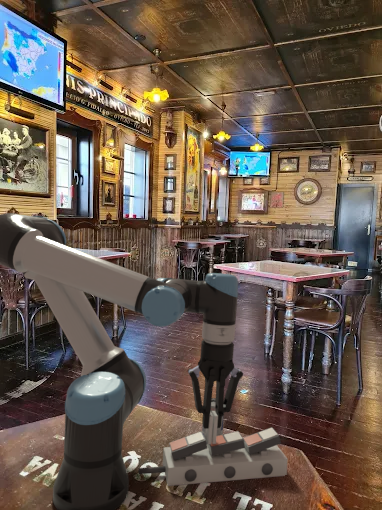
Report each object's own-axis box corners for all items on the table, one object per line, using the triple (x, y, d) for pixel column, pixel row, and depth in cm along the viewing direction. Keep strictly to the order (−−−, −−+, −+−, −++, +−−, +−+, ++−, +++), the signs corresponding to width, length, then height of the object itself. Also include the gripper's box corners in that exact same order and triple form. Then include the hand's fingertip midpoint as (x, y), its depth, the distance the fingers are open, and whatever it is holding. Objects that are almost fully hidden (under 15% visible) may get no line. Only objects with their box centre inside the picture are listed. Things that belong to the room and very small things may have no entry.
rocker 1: (173, 460, 83) (171, 451, 82) (170, 450, 87) (168, 442, 86) (207, 448, 84) (205, 439, 84) (203, 438, 88) (201, 430, 88)
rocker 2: (211, 455, 84) (210, 446, 84) (207, 446, 88) (206, 437, 88) (244, 448, 86) (243, 439, 86) (239, 438, 90) (238, 430, 90)
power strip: (139, 489, 79) (141, 466, 79) (137, 465, 87) (138, 444, 87) (287, 476, 86) (288, 455, 86) (272, 455, 94) (273, 436, 94)
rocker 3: (249, 455, 86) (247, 446, 86) (243, 445, 90) (242, 437, 90) (280, 443, 88) (279, 435, 88) (273, 434, 92) (271, 426, 92)
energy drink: (221, 442, 99) (224, 398, 99) (221, 454, 94) (224, 407, 93) (201, 440, 100) (204, 396, 99) (200, 452, 94) (203, 405, 94)
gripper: (192, 344, 81) (185, 451, 81) (251, 345, 83) (243, 448, 84) (186, 336, 88) (179, 433, 89) (239, 336, 91) (232, 431, 91)
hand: (210, 440), depth 86 cm, fingers closed, pressing on rocker 2
